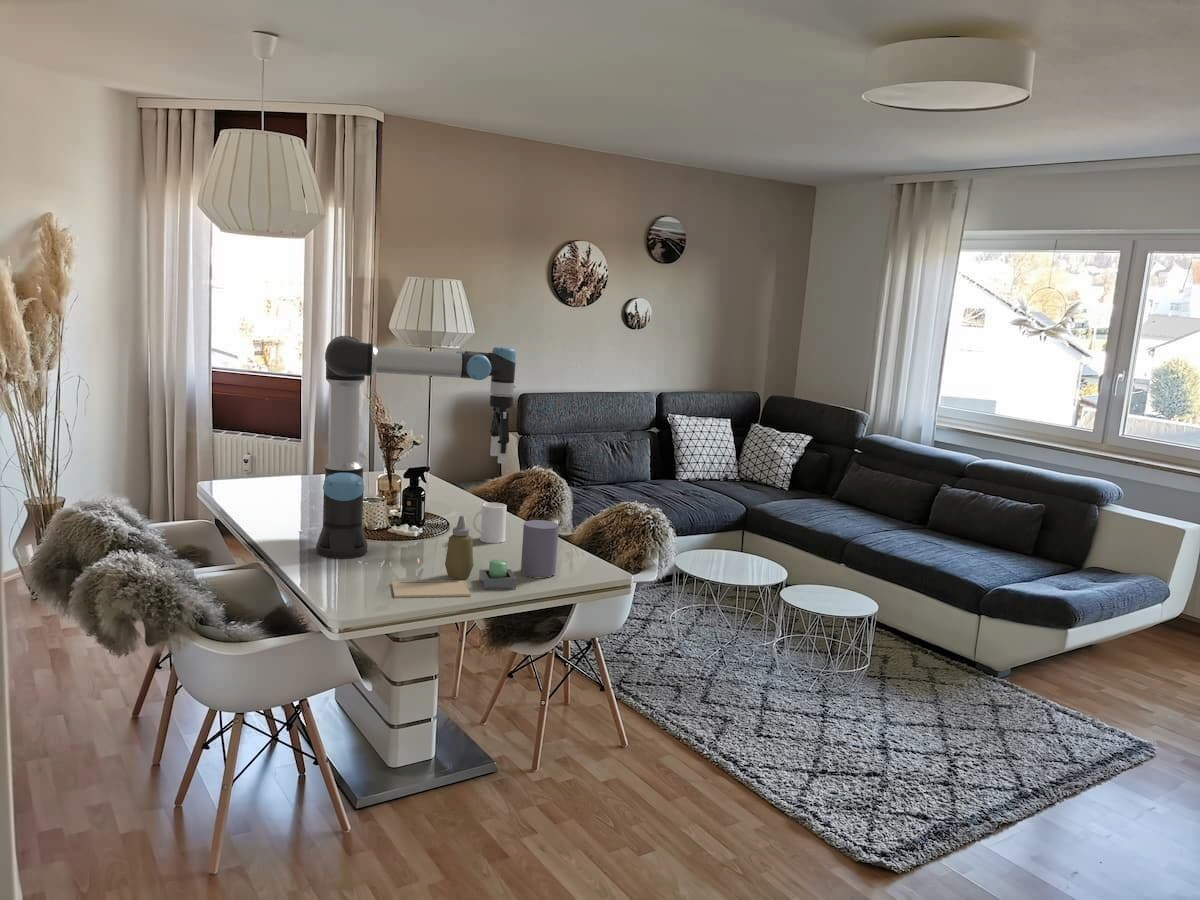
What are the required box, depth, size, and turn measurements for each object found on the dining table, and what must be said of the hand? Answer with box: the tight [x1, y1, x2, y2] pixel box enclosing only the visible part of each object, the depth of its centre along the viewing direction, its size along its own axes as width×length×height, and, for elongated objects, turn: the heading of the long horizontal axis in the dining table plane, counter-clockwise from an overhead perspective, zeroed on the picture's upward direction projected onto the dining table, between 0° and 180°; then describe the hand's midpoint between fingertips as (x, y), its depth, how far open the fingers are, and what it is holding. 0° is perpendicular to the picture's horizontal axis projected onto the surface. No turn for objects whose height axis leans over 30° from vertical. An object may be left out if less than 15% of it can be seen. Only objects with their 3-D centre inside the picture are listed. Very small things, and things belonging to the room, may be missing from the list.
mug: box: [472, 502, 508, 544], centre depth 302 cm, size 12×8×12 cm
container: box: [520, 519, 560, 578], centre depth 269 cm, size 10×10×15 cm
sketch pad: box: [391, 580, 471, 599], centre depth 248 cm, size 20×12×1 cm, turn 106°
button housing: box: [478, 568, 517, 591], centre depth 257 cm, size 9×9×3 cm
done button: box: [488, 559, 508, 578], centre depth 256 cm, size 5×5×5 cm
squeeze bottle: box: [444, 515, 474, 581], centre depth 259 cm, size 8×8×18 cm
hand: (498, 459), depth 298 cm, fingers open, 13 cm apart
